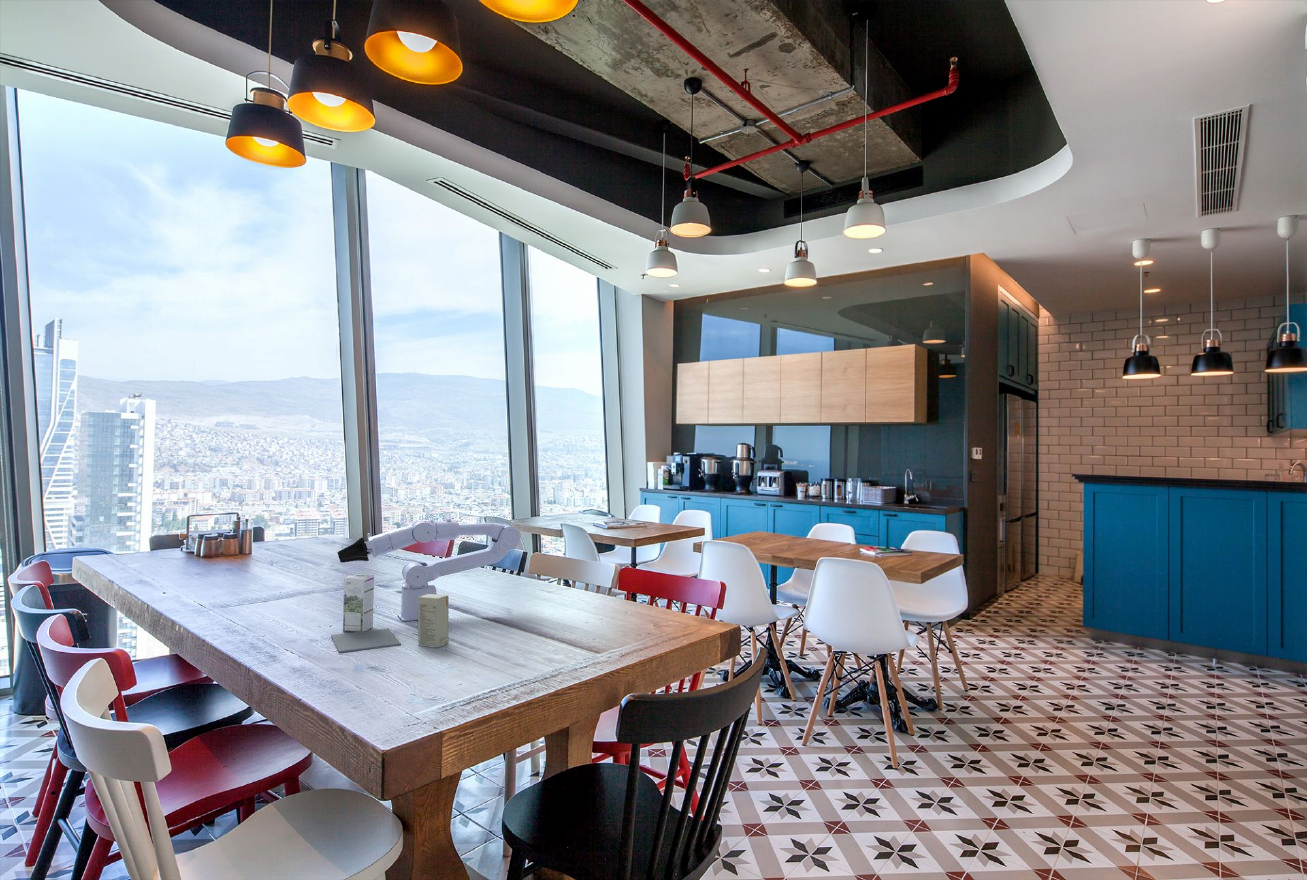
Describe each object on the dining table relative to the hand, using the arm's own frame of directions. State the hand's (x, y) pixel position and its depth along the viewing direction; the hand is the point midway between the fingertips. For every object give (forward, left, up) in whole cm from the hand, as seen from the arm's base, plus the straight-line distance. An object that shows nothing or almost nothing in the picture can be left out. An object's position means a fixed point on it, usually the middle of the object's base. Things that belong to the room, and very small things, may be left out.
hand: (338, 557), depth 183 cm
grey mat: (-4, +20, -18) cm, 28 cm away
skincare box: (-18, +32, -19) cm, 41 cm away
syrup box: (-4, +8, -19) cm, 21 cm away
